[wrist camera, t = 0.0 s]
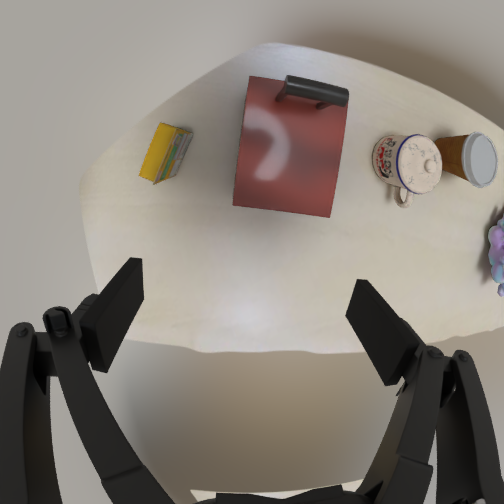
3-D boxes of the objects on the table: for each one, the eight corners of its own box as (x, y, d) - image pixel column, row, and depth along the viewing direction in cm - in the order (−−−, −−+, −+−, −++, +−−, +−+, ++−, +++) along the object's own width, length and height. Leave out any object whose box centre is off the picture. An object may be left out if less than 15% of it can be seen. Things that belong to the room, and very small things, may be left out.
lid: (249, 77, 28) (254, 53, 20) (346, 97, 30) (380, 84, 21) (232, 204, 34) (231, 224, 26) (328, 216, 35) (355, 239, 27)
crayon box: (176, 126, 38) (155, 119, 27) (193, 133, 39) (178, 128, 28) (158, 169, 40) (132, 177, 29) (175, 176, 41) (154, 186, 30)
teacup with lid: (372, 129, 39) (411, 127, 29) (414, 140, 40) (456, 143, 29) (365, 197, 44) (400, 214, 33) (406, 203, 44) (445, 221, 34)
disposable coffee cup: (458, 136, 40) (500, 140, 28) (455, 180, 43) (496, 193, 32) (426, 124, 39) (470, 125, 28) (423, 173, 42) (466, 184, 31)
